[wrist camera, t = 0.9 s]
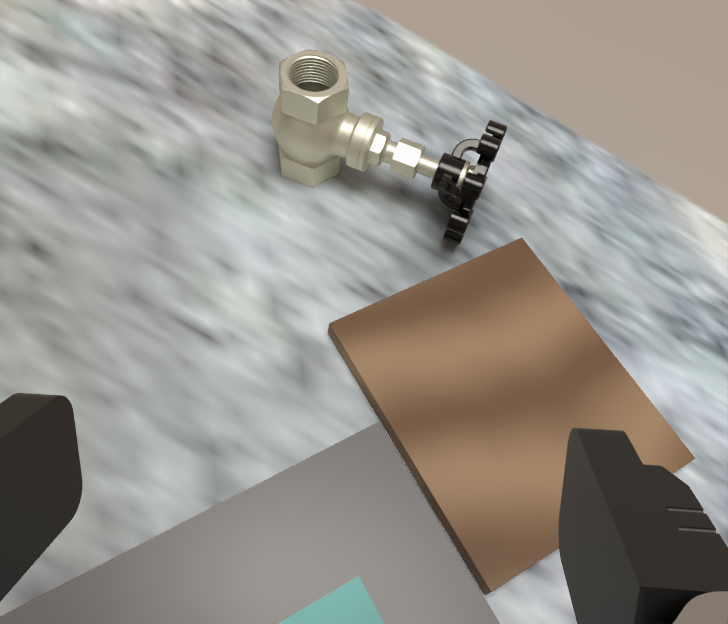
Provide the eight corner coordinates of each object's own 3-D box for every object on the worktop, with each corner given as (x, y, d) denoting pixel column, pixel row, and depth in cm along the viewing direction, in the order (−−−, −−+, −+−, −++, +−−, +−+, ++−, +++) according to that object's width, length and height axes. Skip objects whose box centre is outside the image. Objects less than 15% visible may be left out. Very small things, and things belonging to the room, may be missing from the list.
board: (328, 332, 34) (329, 323, 33) (516, 248, 38) (521, 237, 37) (484, 594, 29) (491, 591, 28) (684, 464, 33) (695, 458, 32)
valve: (250, 190, 38) (449, 268, 37) (245, 100, 32) (481, 190, 31) (299, 114, 41) (484, 184, 40) (303, 21, 36) (518, 100, 35)
